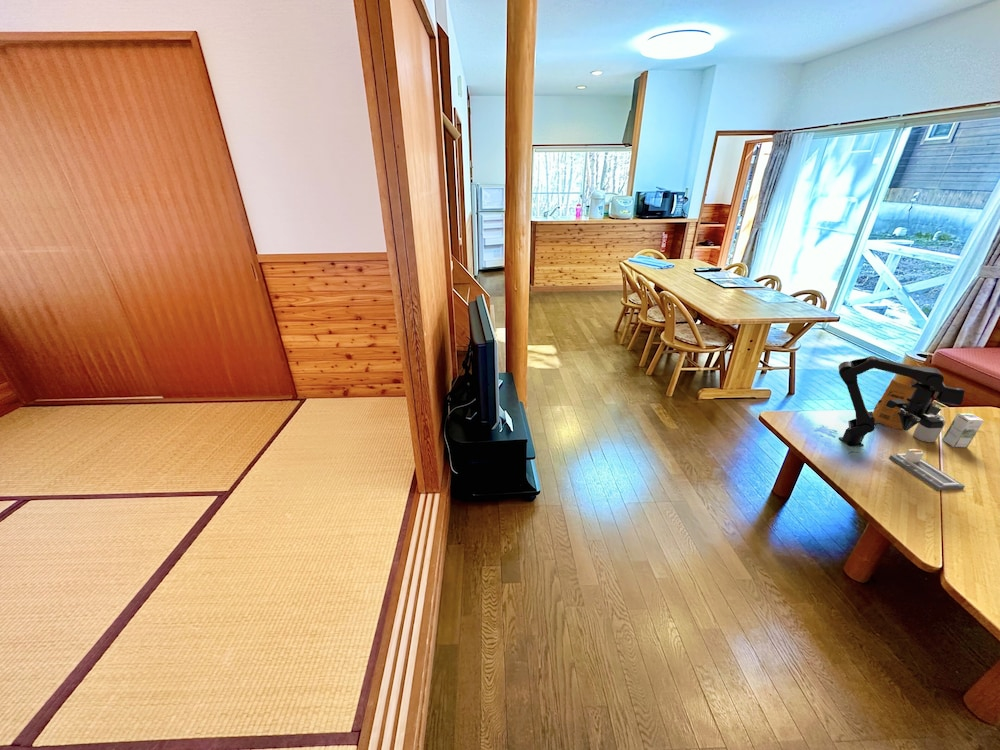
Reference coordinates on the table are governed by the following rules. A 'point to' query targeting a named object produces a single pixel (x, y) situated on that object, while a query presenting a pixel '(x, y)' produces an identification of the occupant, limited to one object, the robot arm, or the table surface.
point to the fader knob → (914, 455)
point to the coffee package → (890, 415)
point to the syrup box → (962, 430)
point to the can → (928, 430)
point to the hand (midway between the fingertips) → (905, 430)
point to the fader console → (928, 473)
